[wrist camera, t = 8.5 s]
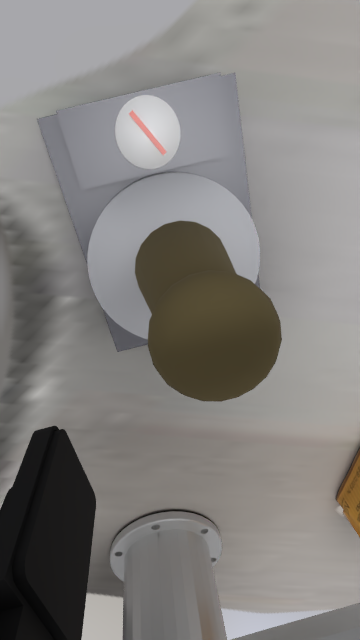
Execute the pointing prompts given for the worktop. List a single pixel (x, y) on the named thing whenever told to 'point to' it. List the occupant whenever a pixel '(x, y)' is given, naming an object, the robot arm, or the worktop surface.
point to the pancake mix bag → (351, 494)
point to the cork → (204, 315)
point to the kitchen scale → (152, 183)
